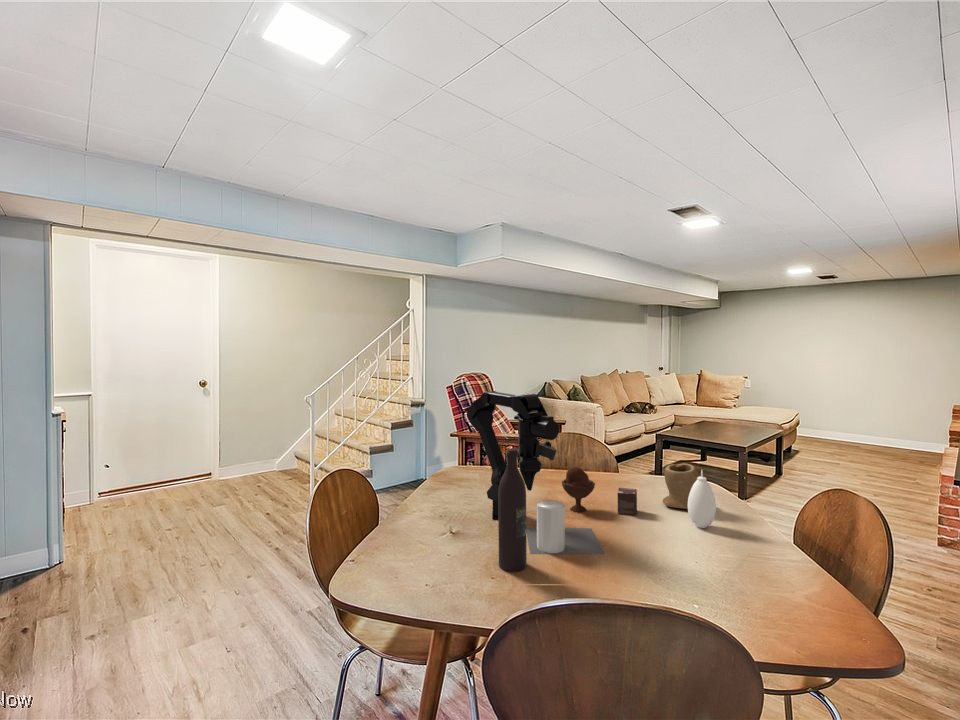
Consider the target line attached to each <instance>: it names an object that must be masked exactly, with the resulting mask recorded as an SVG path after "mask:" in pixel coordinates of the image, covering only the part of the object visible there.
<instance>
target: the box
mask: <svg viewBox="0 0 960 720" xmlns="http://www.w3.org/2000/svg"><path fill="white" fill-rule="evenodd" d="M637 492H638V490H637V488H628V487H627V488H625V487H618V488H617V515H624V516H625V515H626V516H637V515H638V513H637V512H638V498H637V497H638V496H637V495H638V493H637Z"/></svg>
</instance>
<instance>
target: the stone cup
mask: <svg viewBox="0 0 960 720" xmlns="http://www.w3.org/2000/svg"><path fill="white" fill-rule="evenodd" d="M698 474H699V473H698V471H697V468H696V467H695V466H694V465H692V464H689V463H686V462H685V463H684V462H683V463H679V464H676V463H671V464H669V465H667V466H666V467H665V468H664V480H665V481H664V482H665V484H666V486H667V489H668V495H667V496H665V497H664V498H663V499H662V504H663V505H664V506H665V507H669V508H676V509H683V510H688V497H689V494H690V491H691V488H692V486H693V484H694V483H695V482H696V481H697V477H699V475H698Z"/></svg>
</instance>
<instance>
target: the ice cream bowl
mask: <svg viewBox="0 0 960 720" xmlns="http://www.w3.org/2000/svg"><path fill="white" fill-rule="evenodd" d="M561 486H562V488H563V490H564V492H566V494H568V496H570V497H571V498H573V499H574V500H575V504H574V505H572V506H571V507H569V511H571V512H572V511H573V512H572V513H576V512H577V513H578V514H579V513H580V514H582V513H586V512H587V508H586V507H585V506H584V505H582V500H583V499H585V498H587V497H588V496H590V494H591V493H592V492H593V491H594V489H595V486H596V483H595V482H594V481H593V480H591V479H590V477H589V476H588V474H587V472H585V470H584V469H582V468H581V467H579V466H572V467H569V468H568V469H567V470H566V475H565V478H564V479H563V480H562V481H561Z"/></svg>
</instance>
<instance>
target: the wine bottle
mask: <svg viewBox="0 0 960 720" xmlns="http://www.w3.org/2000/svg"><path fill="white" fill-rule="evenodd" d="M517 449H518V448H507V449H506V452H505V455H506V465H507V467H506V470H505V473H504V475H503V476H502V478H501V481H500V484H499V490H498V519H497V521H498V524H497V525H498V527H497V528H498V567H499V568H500V570H502V571H504V572H507V573H518V572H521V571H525V569H526V568H527V533H526V528H527V487H526V484H525V482H524V479H523V477H522V474H521V472H520V469H519V467H518V459H517V458H518V457H517V456H518V451H517Z"/></svg>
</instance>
